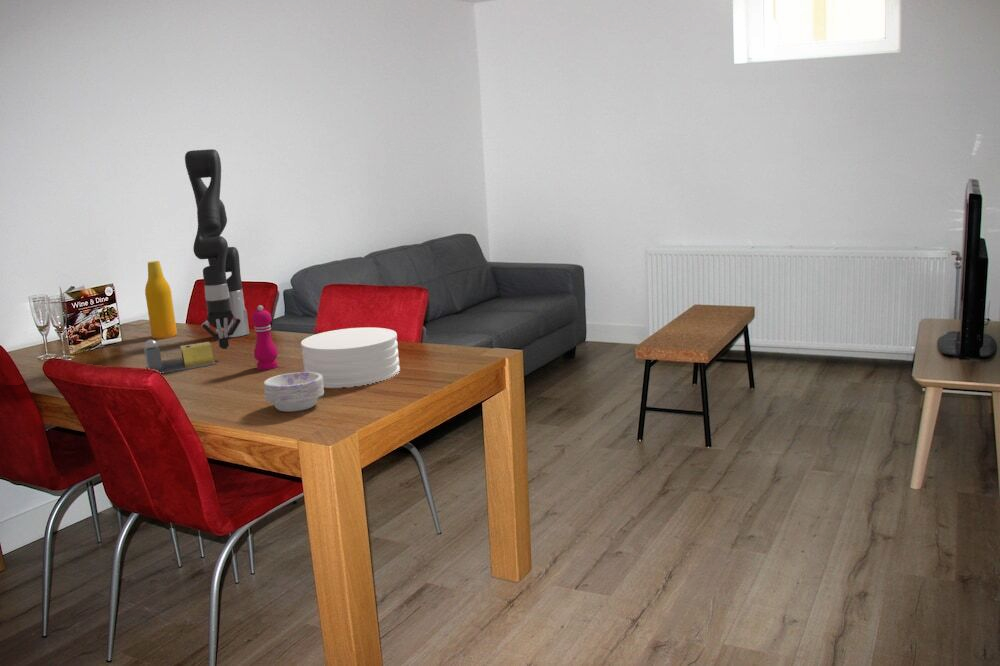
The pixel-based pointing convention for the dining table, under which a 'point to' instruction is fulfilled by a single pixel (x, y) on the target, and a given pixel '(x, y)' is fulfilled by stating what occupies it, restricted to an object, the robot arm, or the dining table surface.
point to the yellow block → (197, 353)
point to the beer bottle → (159, 303)
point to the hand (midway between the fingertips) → (224, 348)
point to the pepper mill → (264, 340)
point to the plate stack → (352, 356)
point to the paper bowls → (294, 390)
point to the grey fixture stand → (167, 365)
